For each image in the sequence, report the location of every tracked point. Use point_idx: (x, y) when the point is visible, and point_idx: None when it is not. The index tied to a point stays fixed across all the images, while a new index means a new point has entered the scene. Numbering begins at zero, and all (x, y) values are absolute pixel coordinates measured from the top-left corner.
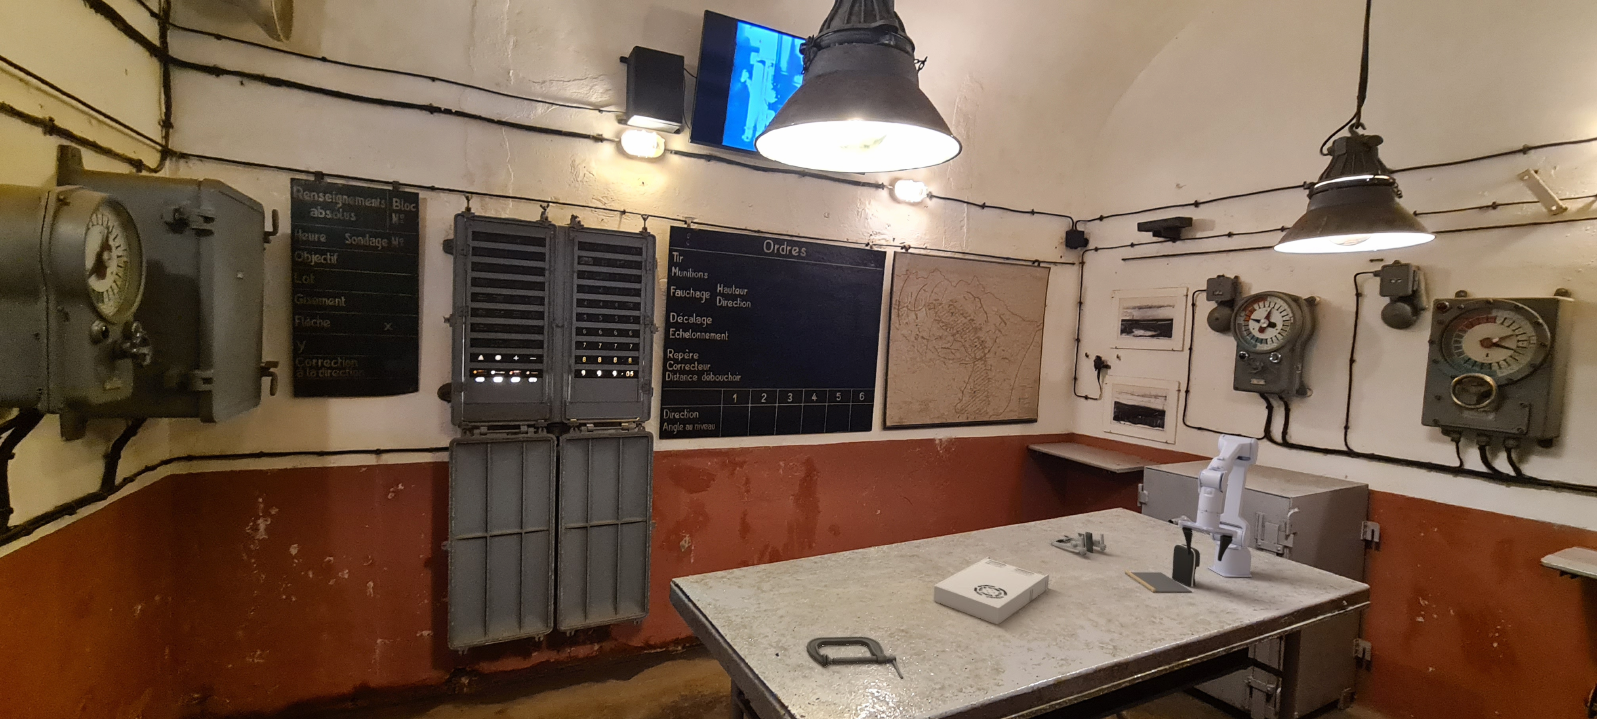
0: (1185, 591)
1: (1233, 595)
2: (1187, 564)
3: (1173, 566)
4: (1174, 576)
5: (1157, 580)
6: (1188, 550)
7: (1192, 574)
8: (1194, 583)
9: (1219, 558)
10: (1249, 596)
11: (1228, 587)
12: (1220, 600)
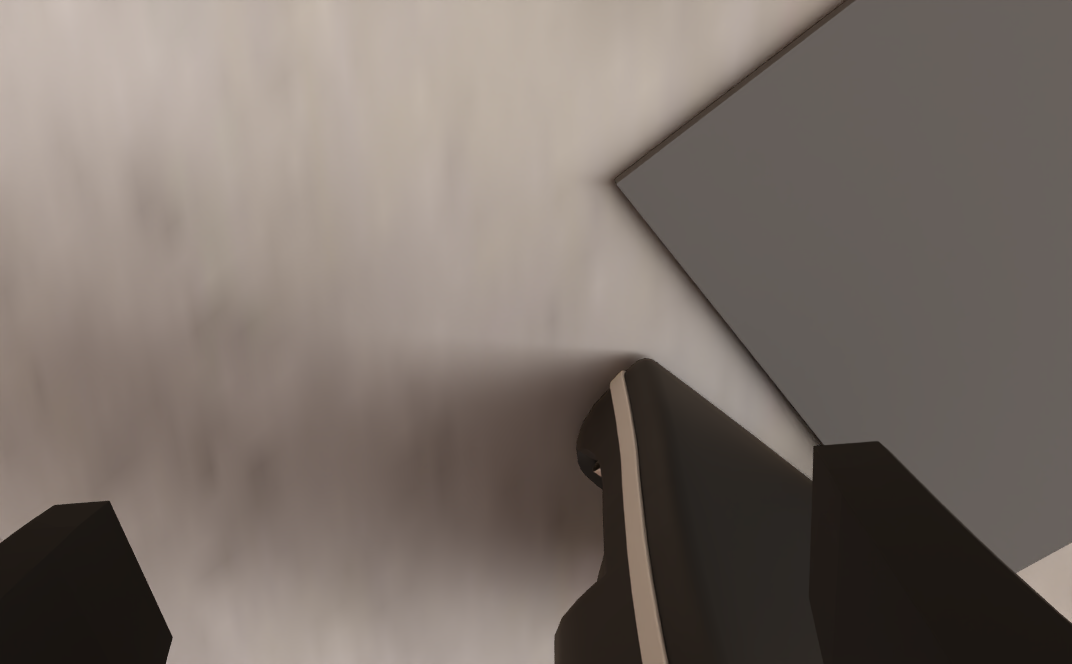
0: (695, 121)
1: (167, 418)
2: (742, 563)
3: None
4: None
5: (1037, 303)
6: (929, 499)
7: (636, 459)
8: (592, 427)
9: (52, 533)
10: (24, 499)
11: (255, 623)
12: (264, 127)
